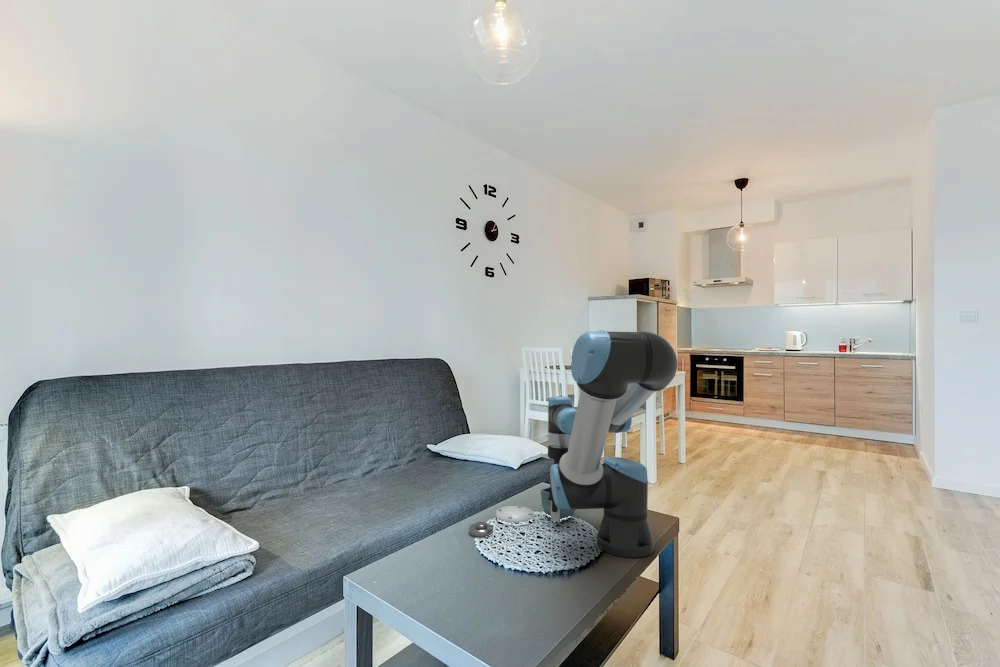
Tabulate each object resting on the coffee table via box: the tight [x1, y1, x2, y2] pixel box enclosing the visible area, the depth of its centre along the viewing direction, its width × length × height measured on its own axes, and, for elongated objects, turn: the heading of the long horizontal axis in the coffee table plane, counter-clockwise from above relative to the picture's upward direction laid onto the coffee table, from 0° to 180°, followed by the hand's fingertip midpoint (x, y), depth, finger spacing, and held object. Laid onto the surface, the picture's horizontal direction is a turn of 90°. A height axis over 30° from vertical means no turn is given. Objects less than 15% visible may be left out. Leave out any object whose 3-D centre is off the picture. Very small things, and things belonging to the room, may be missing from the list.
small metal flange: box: [468, 521, 494, 538], centre depth 133 cm, size 7×7×2 cm
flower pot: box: [540, 486, 576, 519], centre depth 145 cm, size 9×9×9 cm
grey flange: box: [495, 505, 535, 523], centre depth 144 cm, size 12×12×2 cm
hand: (559, 515), depth 145 cm, fingers closed on flower pot, 11 cm apart
